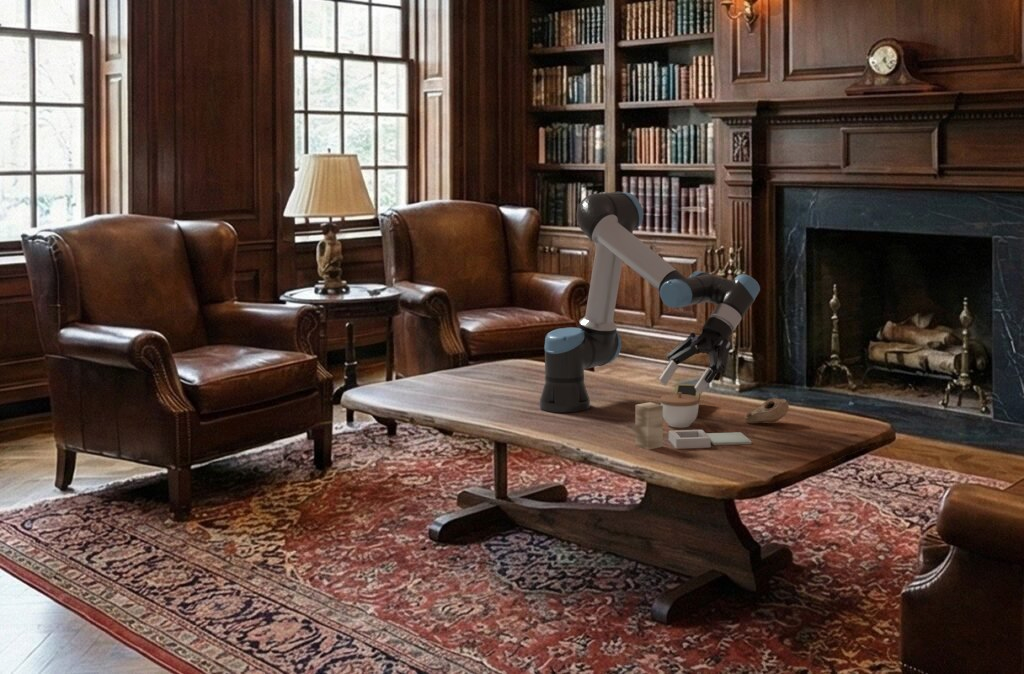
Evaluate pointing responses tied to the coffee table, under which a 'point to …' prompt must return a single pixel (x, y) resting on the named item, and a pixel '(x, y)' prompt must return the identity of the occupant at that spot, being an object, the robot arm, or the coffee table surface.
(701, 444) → the stone well
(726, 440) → the felt pad
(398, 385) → the coffee table surface
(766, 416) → the pottery oil lamp
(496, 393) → the coffee table surface
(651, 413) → the maple block
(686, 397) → the lidded jar
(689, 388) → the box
